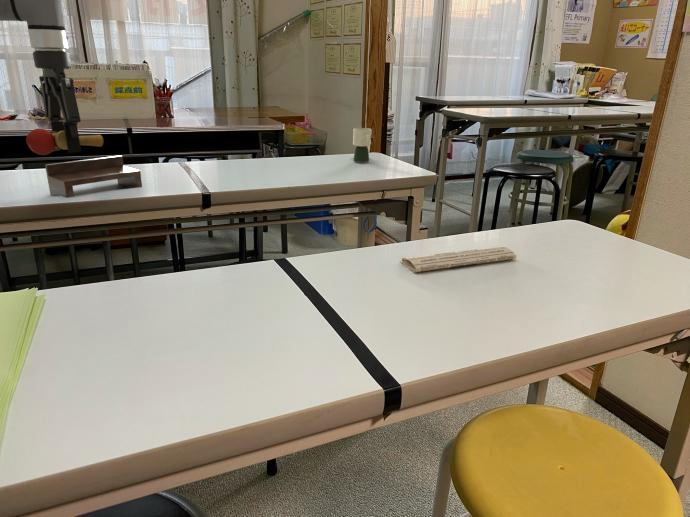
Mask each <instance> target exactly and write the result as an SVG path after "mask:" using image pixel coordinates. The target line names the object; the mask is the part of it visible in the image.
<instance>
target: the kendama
mask: <svg viewBox="0 0 690 517" xmlns="http://www.w3.org/2000/svg"><path fill="white" fill-rule="evenodd" d="M25 141H26V145H27V146H28V148H29V150H30V151H31V152H33V153H34V154H37V155H41V156H46V155H49V154H51V153H52V152H57V151H60V150H64V151H65V150H66V151H68V147H67V141H66V136H65V131H59V132H56V131H52V130H47V129H45V128H35V129H32V130H31V131H29V132H28V133H27V135H26V138H25ZM79 141H80V146H89V147H90V146H91V147H100V148H101V147H103V145H104V142H105V141H104V138H103V136H102V135H101V134H90V135H89V134H88V135H79Z"/></svg>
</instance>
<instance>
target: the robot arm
mask: <svg viewBox="0 0 690 517" xmlns="http://www.w3.org/2000/svg"><path fill="white" fill-rule="evenodd" d="M0 22H25V23H26V25H27V33H28V37H29V38H28V39H29V43H30V48H32V49H34V51H33V52H32V57H33V63H34V67H35V68H36V69H41V70H42V69H43V75H39V77H38V78H39V79H38V80H39V83H40V88H41V93H42V94H41V95H42V102H43V109H44V116H45V118H46V119H48V121H49V123H50V128H51V131H56V132H59V131H65V136H66V141H67V147H68V149H67V151H68V154H73V153H80V152H82V149H81V145H80V141H79V136H80V135H79V130H78V124H79V123H81V121H82V120H81V115H80V111H79V107H78V101H77V97H76V93H75V87H74V85H75V84H74V79H73V77H67V74H66V70H69V69H71V68H72V63H71V62H72V61H71V56H70V53H69V52H68V51H66V50H68V49H69V44H68V40H69V36H68V35H67V33H66V26H65V20H64V13H63V7H62V0H0Z"/></svg>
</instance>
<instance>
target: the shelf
mask: <svg viewBox="0 0 690 517" xmlns="http://www.w3.org/2000/svg"><path fill="white" fill-rule="evenodd" d="M44 167H45V174H46V179H47V184H48V190H49V194H50V195H51V196H53V197H64V198H67V199H68V198H72V197H73V198H74V197H75V194H74V193H75V192H74V188H73V187H74V186H81V185H82V186H83V185H87V184H88V185H89V184H93V183H94V184H95V183H101V182H108V181H114V180H117V184H118V185H121V186H124V187H127V188H130V189H136V188H137V189H138V188H143V183H142V174H141V173H142V172H141V170H139V169H136V168H133V167H130V166H125V164H124V158H123V155H114V156H106V157H96V158H88V159H82V160H81V159H80V160H72V161H64V162H55V163H48V164H44Z"/></svg>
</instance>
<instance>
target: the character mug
mask: <svg viewBox="0 0 690 517" xmlns="http://www.w3.org/2000/svg"><path fill="white" fill-rule="evenodd" d="M352 131H353V132H352V145H353V146H355V148H354V154H353V162H359V161H360V162H370V153H369V148H368V147H369V146H371V145H372V140H371V138H372V128H368V127H354V128H353V130H352ZM360 162H359V163H360Z"/></svg>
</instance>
